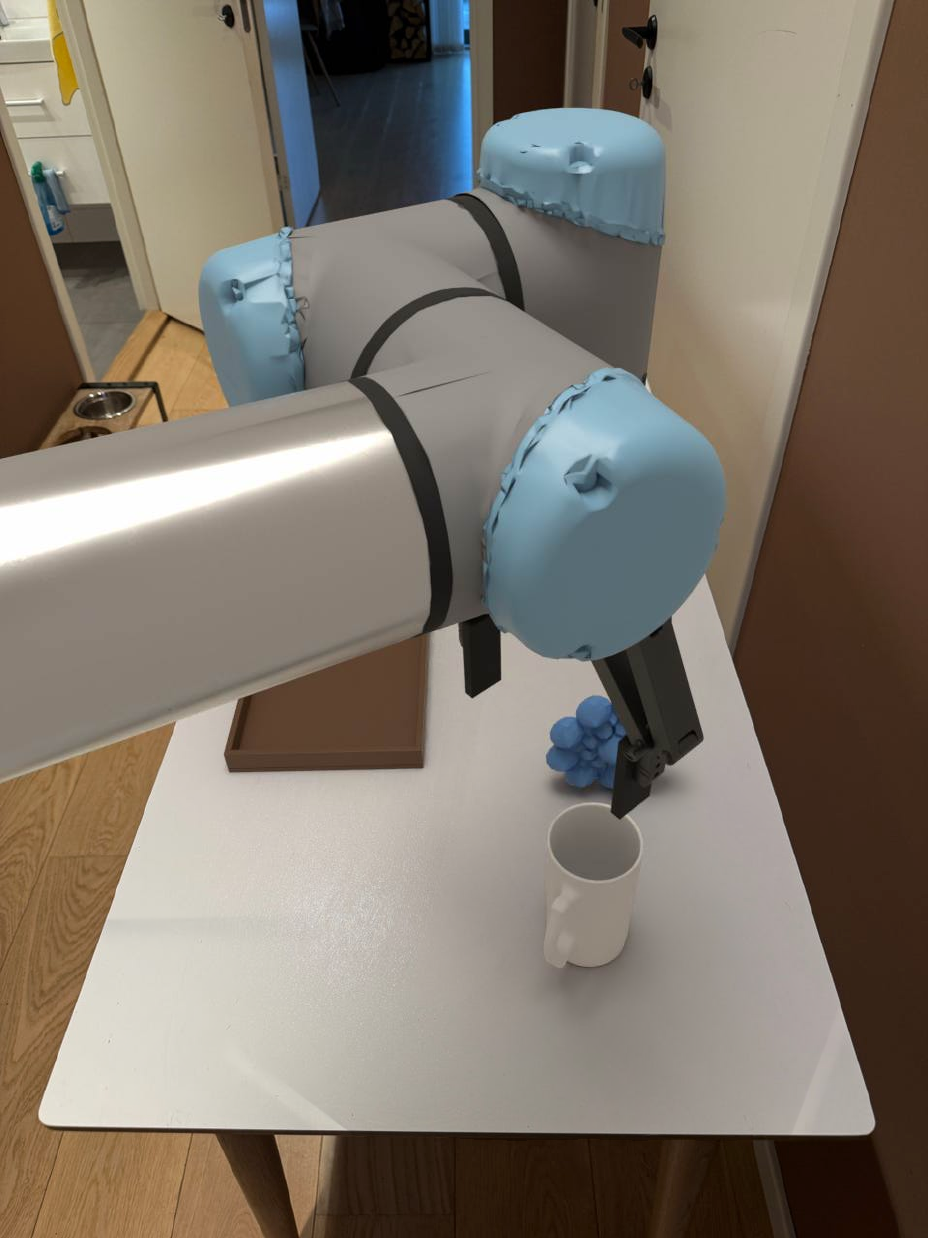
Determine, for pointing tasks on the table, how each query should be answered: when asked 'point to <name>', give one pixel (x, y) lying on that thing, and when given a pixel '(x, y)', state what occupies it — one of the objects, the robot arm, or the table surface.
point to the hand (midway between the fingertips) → (551, 741)
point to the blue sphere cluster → (587, 743)
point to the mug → (590, 884)
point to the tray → (338, 716)
